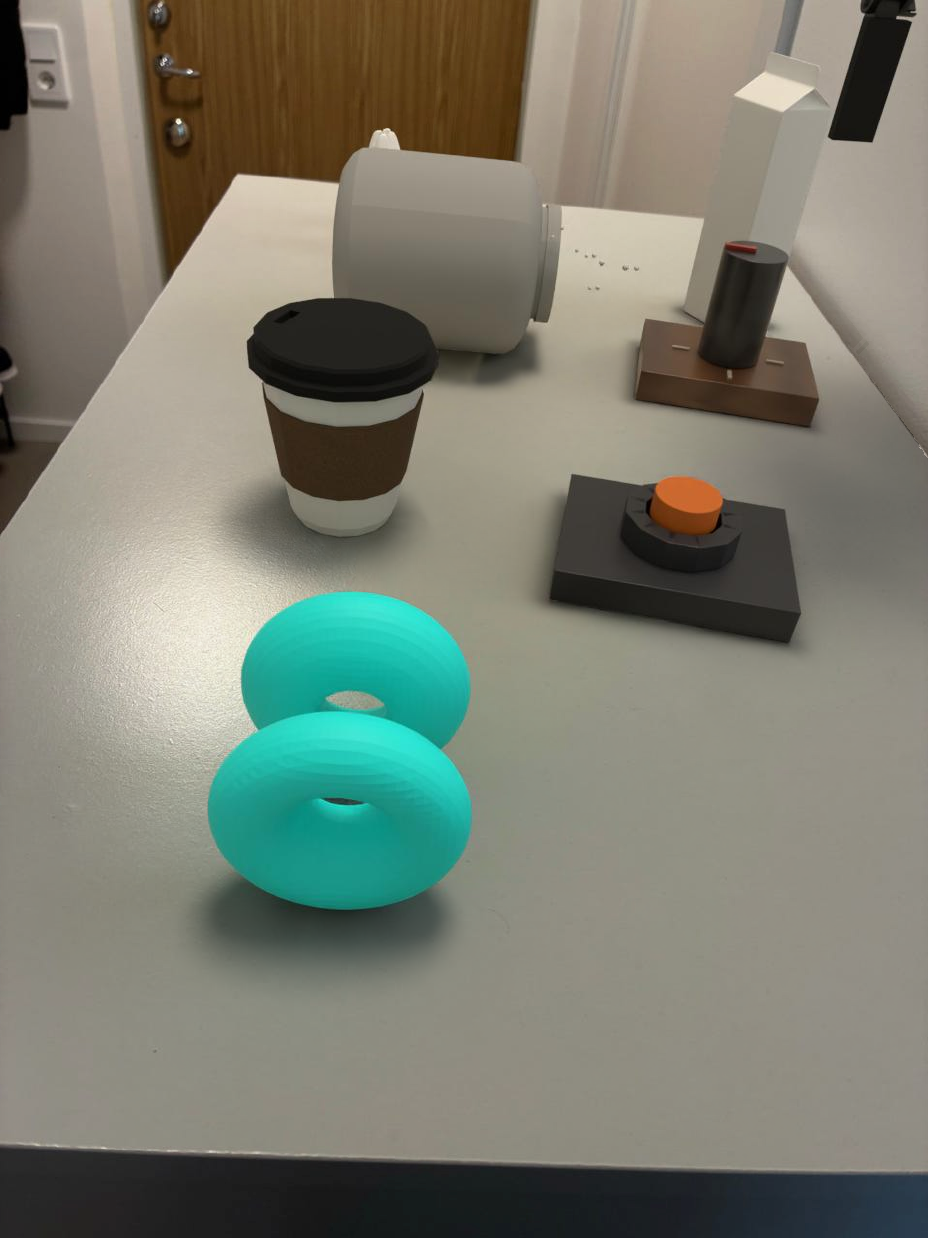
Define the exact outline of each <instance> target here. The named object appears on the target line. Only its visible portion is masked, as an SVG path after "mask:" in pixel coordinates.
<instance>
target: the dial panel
mask: <svg viewBox="0 0 928 1238" xmlns="http://www.w3.org/2000/svg"><path fill="white" fill-rule="evenodd" d="M643 323H644V324H643V328H642V332H641V337H640V341H639V347H638V348H639V350H638V361H637V371H636V372H637V374H636V382H635V383H636V385H635V394H634V399H635V400H639V401H646V402H652V403H657V404H658V403H659V404H665V405H671V406H677V407H683V408H689V409H694V410H695V409H697V410H703V411H709V412H716V413H722V414H727V415H734V416H739V417H745V418H753V419H758V420H765V421H770V422H771V421H772V422H777V423H785V424H790V425H797V426H803V427H811V425H812V421H813V419H814V416H815V413H816V410H817V407H818V404H819V401H820V394H819V390H818V387H817V383H816V379H815V375H814V371H813V367H812V363H811V358H810V353H809V350H808V347H807V343H806V342H803V341H797V340H789V339H783V338H776V337H769V336H765V339H764V343H763V346H762V349H761V353H760V356H759V359H758V362H757V364H756V365H754V366H752V367H749V368H728V367H723V366H719V365H716V364H713V363H711V362H709V361H707V360H705V359H704V358H702V357H701V356H700V355H699V353H698V346H699V342H700V338H701V334H702V330H703V326H699V325H698V326H697V325H692V324H691V325H690V324H685V323H678V322H672V321H665V320H659V319H658V320H657V319H651V318H645V319H644V322H643Z"/></svg>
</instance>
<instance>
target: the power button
mask: <svg viewBox="0 0 928 1238" xmlns="http://www.w3.org/2000/svg"><path fill="white" fill-rule="evenodd" d="M657 483H658V484H657V485H656V487H655V491H654V495H653V499H652V503H651V507H650V517H651V519H652V520H653V521H654V522H655V523H656V524H658V525H660V526H662V527H664V528H666V529H668V530H670V531H672V532H675V533H681V534H686V535H692V536H698V535H705V534H709V533H710V532H712V531H713V530H714V528H715V527H716V523H717V520H718V517H719V514H720V510H721V507H722V504H723V498H724V497H723V495H722V493H721V492H720V491H719V489H717V488H716V487H715V486H713V485H712V484H711V483H708V482H706V481H704V480H702V479H698V478H695V477H691V476H684V475H683V476H682V475H678V476H677V475H676V476H669V477H665V478H663V479H661V480H660V481H658V482H657ZM722 497H723V498H722Z"/></svg>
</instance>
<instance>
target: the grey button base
mask: <svg viewBox="0 0 928 1238" xmlns="http://www.w3.org/2000/svg"><path fill="white" fill-rule="evenodd" d="M658 483H659V482H655V483H654V482H653V483H646V484H645V483H644V484H635V483H630V482H625V481H618V480H613V479H612V480H611V479H606V478H601V477H594V476H587V475H581V474H576V473H571V474H570V480H569V486H568V490H567V496H566V501H565V507H564V513H563V518H562V524H561V531H560V536H559V541H558V547H557V551H556V557H555V563H554V569H553V576H552V580H551V586H550V592H549V600H550V601H555V602H560V603H566V604H571V605H578V606H584V607H589V608H594V609H600V610H605V611H612V612H617V613H622V614H628V615H634V616H640V617H645V618H651V619H656V620H662V621H668V622H674V623H680V624H685V625H689V626H696V627H701V628H707V629H713V630H717V631H723V632H729V633H735V634H742V635H746V636H752V637H757V638H758V637H759V638H764V639H768V640H774V641H780V642H785V643H790V642H791V639H792V637H793V635H794V632H795V629H796V627H797V625H798V622H799V620H800V618H801V615H802V610H801V604H800V598H799V597H800V596H799V590H798V585H797V578H796V571H795V565H794V557H793V551H792V547H791V545H792V544H791V538H790V532H789V527H788V526H789V525H788V521H787V514H786V509H785V508H781V507H773V506H770V505H769V506H768V505H761V504H756V503H750V502H744V501H738V500H732V499H726V498H725V497H723V496H722V498H723V504H722V507H721V510H720V514H719V517H718V520H717V523H716V527H715V528H714V530H713V531H712V532H710V533H709V534H705V535H698V536H692V535H686V534H681V533H675V532H672V531H670V530H668V529H666V528H664V527H662V526H660V525H658V524H656V523H655V522H654V521H653V520H652V519H651V517H650V507H651V503H652V499H653V495H654V491H655V487H656V485H657V484H658Z"/></svg>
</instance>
